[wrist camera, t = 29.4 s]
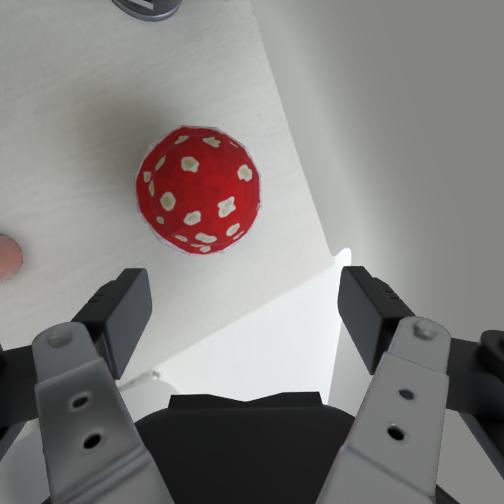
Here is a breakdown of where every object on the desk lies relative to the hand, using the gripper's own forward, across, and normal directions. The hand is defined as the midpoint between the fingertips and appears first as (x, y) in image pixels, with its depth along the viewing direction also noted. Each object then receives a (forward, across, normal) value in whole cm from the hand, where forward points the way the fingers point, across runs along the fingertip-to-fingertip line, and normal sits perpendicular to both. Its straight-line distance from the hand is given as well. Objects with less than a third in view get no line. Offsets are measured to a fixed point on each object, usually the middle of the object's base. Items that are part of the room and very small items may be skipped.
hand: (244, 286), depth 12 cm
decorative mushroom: (+29, +7, +2) cm, 30 cm away
